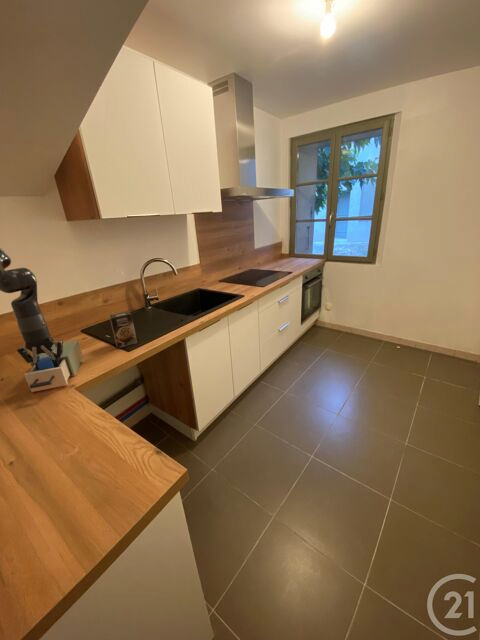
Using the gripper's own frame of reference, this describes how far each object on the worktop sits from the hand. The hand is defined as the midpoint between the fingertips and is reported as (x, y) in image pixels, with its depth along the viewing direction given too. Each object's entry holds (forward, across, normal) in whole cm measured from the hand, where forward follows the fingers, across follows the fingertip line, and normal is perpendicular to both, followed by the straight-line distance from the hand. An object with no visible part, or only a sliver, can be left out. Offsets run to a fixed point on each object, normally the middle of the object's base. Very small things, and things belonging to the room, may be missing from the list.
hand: (49, 368), depth 97 cm
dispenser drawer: (+5, 0, 0) cm, 6 cm away
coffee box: (+7, -24, -24) cm, 35 cm away
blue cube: (0, 0, 0) cm, 0 cm away
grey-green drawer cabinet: (+6, 0, -10) cm, 12 cm away
